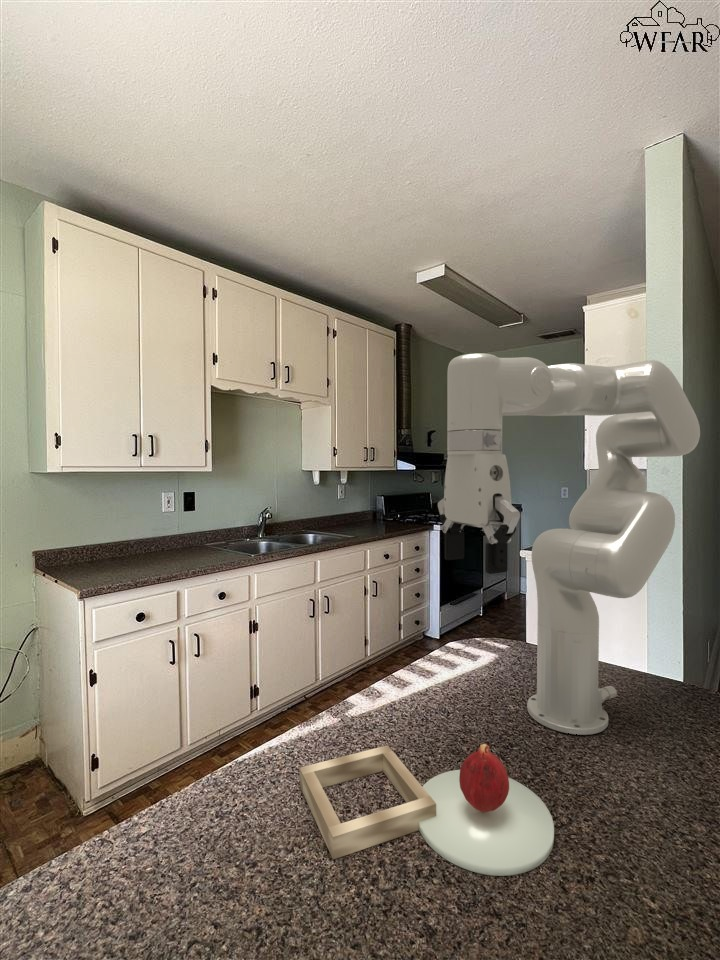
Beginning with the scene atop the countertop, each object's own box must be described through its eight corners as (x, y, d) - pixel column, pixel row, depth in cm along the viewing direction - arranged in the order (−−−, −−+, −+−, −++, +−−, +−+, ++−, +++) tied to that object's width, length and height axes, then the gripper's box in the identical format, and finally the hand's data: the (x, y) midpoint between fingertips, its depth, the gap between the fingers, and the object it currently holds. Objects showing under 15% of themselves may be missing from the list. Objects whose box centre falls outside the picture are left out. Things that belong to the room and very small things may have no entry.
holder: (387, 762, 69) (387, 745, 69) (436, 824, 57) (436, 803, 57) (299, 786, 64) (299, 767, 64) (333, 859, 52) (332, 837, 52)
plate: (493, 764, 69) (493, 757, 69) (586, 846, 54) (586, 838, 54) (392, 795, 62) (392, 787, 62) (466, 897, 48) (466, 887, 48)
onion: (511, 833, 55) (511, 763, 54) (459, 825, 56) (459, 757, 56) (506, 798, 60) (506, 735, 60) (459, 791, 62) (459, 730, 61)
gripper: (540, 442, 62) (539, 575, 62) (460, 447, 78) (460, 553, 78) (492, 441, 59) (491, 581, 59) (420, 446, 75) (420, 557, 75)
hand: (474, 565), depth 69 cm, fingers open, 9 cm apart
